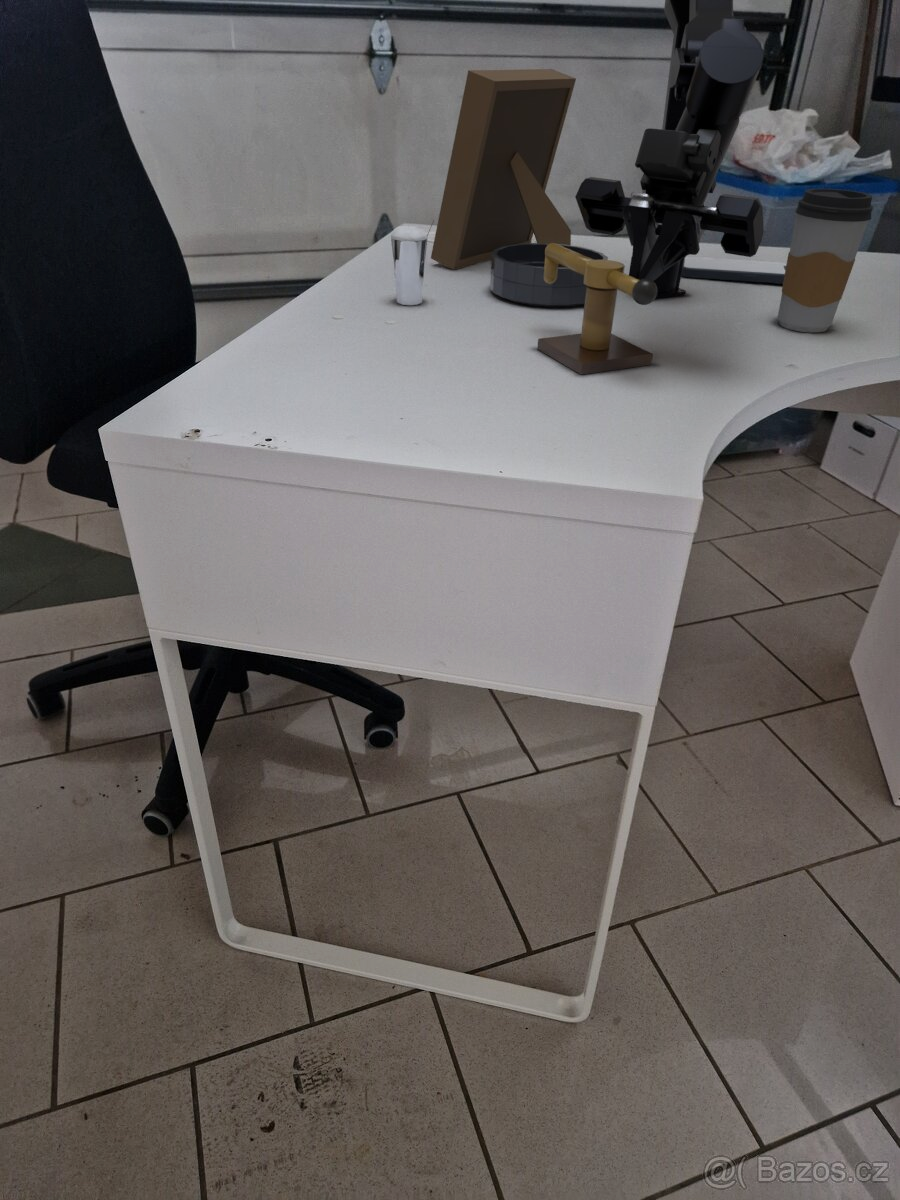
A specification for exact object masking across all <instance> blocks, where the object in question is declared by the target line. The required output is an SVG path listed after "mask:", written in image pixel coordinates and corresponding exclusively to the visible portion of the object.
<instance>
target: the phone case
mask: <svg viewBox="0 0 900 1200" xmlns="http://www.w3.org/2000/svg"><path fill="white" fill-rule="evenodd" d="M786 265H787V262H781V261H766V260H751V259H749V260H748V259H734V258H733V259H732V258H716V257H704V256H703V257H701V256H700V257H699V256H686V257H684V263H683V268H682V274H681V277H683V278H695V279H708V280H709V279H710V280H722V281H723V280H724V281H736V282H737V281H738V282H753V283H765V284H777V285H783V281H784V276H785V270H786Z"/></svg>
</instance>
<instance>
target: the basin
mask: <svg viewBox="0 0 900 1200" xmlns="http://www.w3.org/2000/svg"><path fill="white" fill-rule="evenodd" d="M549 244H550V243H537V242H531V243H524V244H512V245H507V246H502V247H499V248H497V249H495V250H494V251H493V252H492V259H490V260H491V263H490V281H489V288H490V290H491V292H492V293H493V294H494V295H497V296H499V297H501V298H503V299H505V300H506V301H507V300H508V301H510V302H514V303H517V304H521V305H522V304H523V305H528V306H535V307H547V308H567V307H576V306H582V305H585V297H586V289H587V285H585V284H584V283H583V281H584V275H582V274H580V273H578V272H576V271H573V270H571V269H569V268H567V267H565V266H562V265H560V264H559V265H558V275H557V280H556V281H555V282H554V283H552V284H548V283H546V282H545V280H544V265H545V249H546V247H547V246H548V245H549ZM558 245H560V246H563V247H565V248H568V249H570V250H572V251H575V252H577V253H579V254H582V255H584V256H587V257H589V258H591V259H594V260H608V259H609V257H608V256H606V255H605V254H604V253H603V252H601V251H597V250H595V249H592V248H587V247H584V246H583V247H582V246H578V245H572V244H571V245H564V244H558Z"/></svg>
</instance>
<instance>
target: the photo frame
mask: <svg viewBox="0 0 900 1200" xmlns="http://www.w3.org/2000/svg"><path fill="white" fill-rule="evenodd" d="M465 79H466V80H465V85H464V91H463V94H462V99H461V104H460V110H459V115H458V120H457V125H456V129H455V134H454V139H453V144H452V150H451V155H450V160H449V165H448V170H447V175H446V180H445V185H444V189H443V194H442V199H441V204H440V209H439V215H438V220H437V225H436V229H435V235H434V238H433V239H434V240H433V243H432V244H433V246H432V250H431V254H430V255H431V256H430V259H431V260H433V261H436V262H437V263H439V264H441V265H443V266H445V267H447V268H449V269H451V270H453V271H454V270H458V269H462V268H465V267H469V266H471V265H475V264H478V263H481V262H485V261H489V260H492V252H493V251H494V250H495V249H497V248H499V247H502V246H507V245H512V244H524V243H532V240H533V236H534V238H535V241H536V243H550V244H551V243H556V244H564V245H571V246H572V229H571V228H570V227H569V225H568V224H567V222H566V221H565V219H564V218H563V217H562V215H561V213H560V212H559V211H558V209H557V208H556V206H555V205H554V203H553V202H552V201H551V199H550V197H549V196H548V195H547V193H546V190H547V186H548V183H549V178H550V175H551V173H552V168H553V165H554V160H555V157H556V153H557V150H558V146H559V142H560V139H561V135H562V131H563V128H564V125H565V121H566V117H567V114H568V109H569V106H570V103H571V99H572V95H573V91H574V88H575V85H576V81H577V78H576V77H573V76H571V75H568V74H566V73H563V72H560V71H558V70H555V69H553V68H541V69H540V68H531V69H530V68H528V69H475V70H474V69H473V70H472V69H468V70H467V75H466V78H465Z"/></svg>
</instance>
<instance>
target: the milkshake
mask: <svg viewBox="0 0 900 1200" xmlns="http://www.w3.org/2000/svg"><path fill="white" fill-rule="evenodd" d="M434 221H435V220H434V219H433V220H432V223H431V224H430V227H429V229H428V231H427V232H426V230H424V229H423V228H421V227H418V226H415V225H398V226H397V227H395V228H394V229H393V230H392V232H391V233H390V239H391V240H390V241H391V250H392V252H391V253H392V258H393V266H394V267H393V268H394V280H395V281H394V283H395V294H396V295H395V296H396V303H397V304H399V305H402V306H416V305H421V304H422V302H423V289H424V275H425V265H426V264H425V263H426V254H427V246H428V236H429V234H430V231H431V229H432V227H433V224H434Z"/></svg>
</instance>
